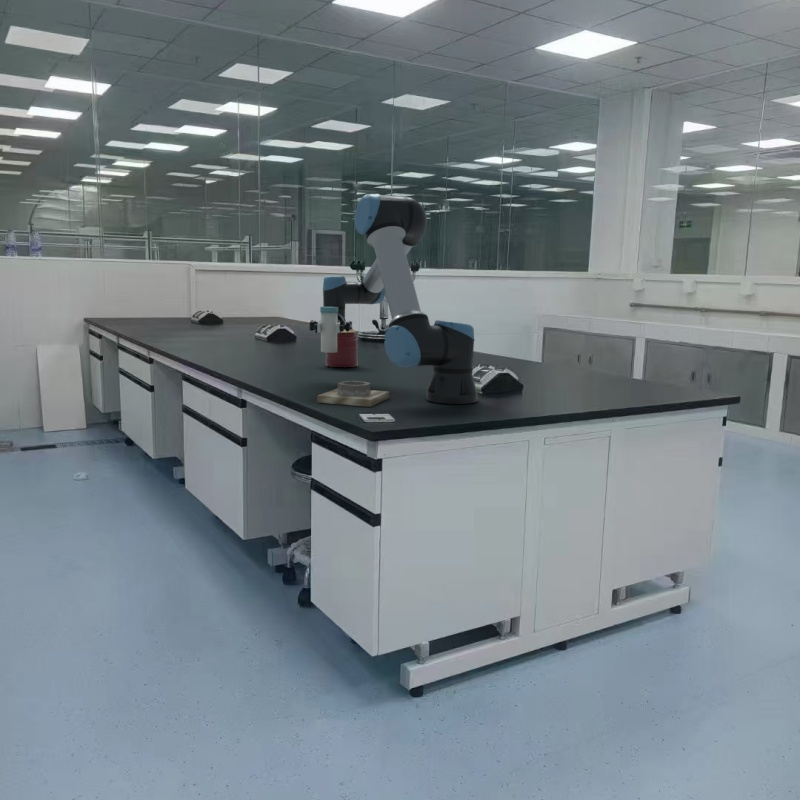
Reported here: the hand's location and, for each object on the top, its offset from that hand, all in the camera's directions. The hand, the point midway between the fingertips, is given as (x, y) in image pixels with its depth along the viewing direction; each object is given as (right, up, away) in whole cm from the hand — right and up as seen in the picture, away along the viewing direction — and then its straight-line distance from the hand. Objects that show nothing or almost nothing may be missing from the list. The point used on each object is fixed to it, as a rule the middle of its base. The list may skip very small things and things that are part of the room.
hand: (328, 328), depth 211 cm
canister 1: (0, -7, +6) cm, 9 cm away
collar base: (+8, -21, -5) cm, 23 cm away
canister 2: (-2, -8, +74) cm, 75 cm away
